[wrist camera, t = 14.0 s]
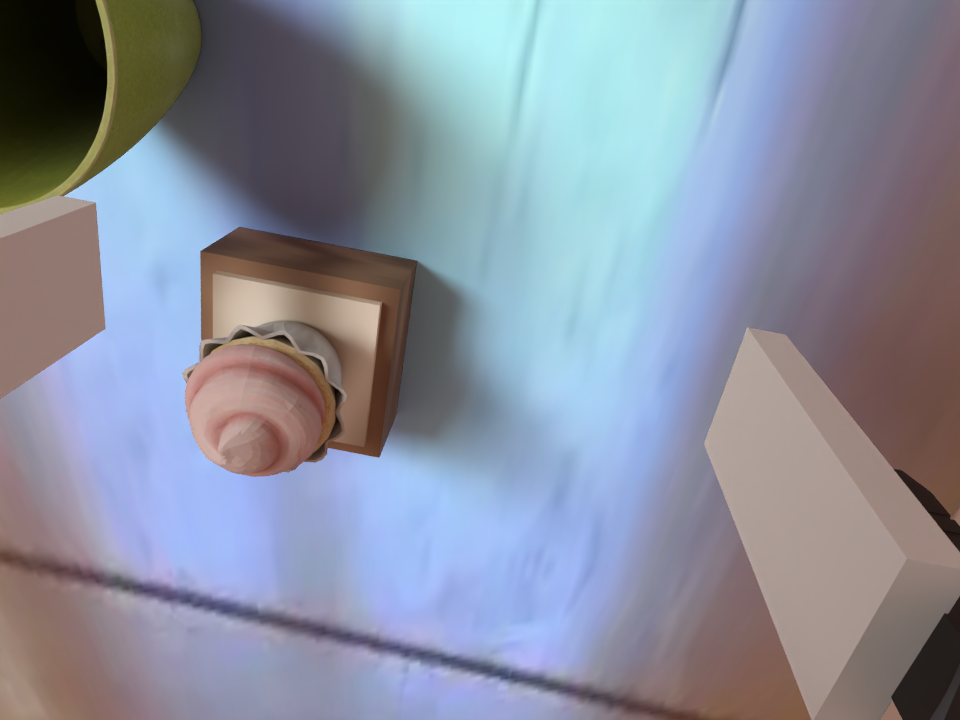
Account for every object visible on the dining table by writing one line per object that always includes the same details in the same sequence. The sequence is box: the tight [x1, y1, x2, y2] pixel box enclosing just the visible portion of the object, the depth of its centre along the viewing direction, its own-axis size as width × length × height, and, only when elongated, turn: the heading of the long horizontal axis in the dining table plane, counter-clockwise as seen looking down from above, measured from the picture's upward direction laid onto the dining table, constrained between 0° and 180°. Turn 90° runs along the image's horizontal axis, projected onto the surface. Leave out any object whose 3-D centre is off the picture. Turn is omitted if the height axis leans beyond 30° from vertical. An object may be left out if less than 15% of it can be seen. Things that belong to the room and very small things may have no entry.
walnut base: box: [201, 227, 417, 457], centre depth 45 cm, size 12×12×6 cm
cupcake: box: [183, 320, 347, 476], centre depth 38 cm, size 9×9×10 cm
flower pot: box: [0, 0, 202, 214], centre depth 34 cm, size 15×15×16 cm
